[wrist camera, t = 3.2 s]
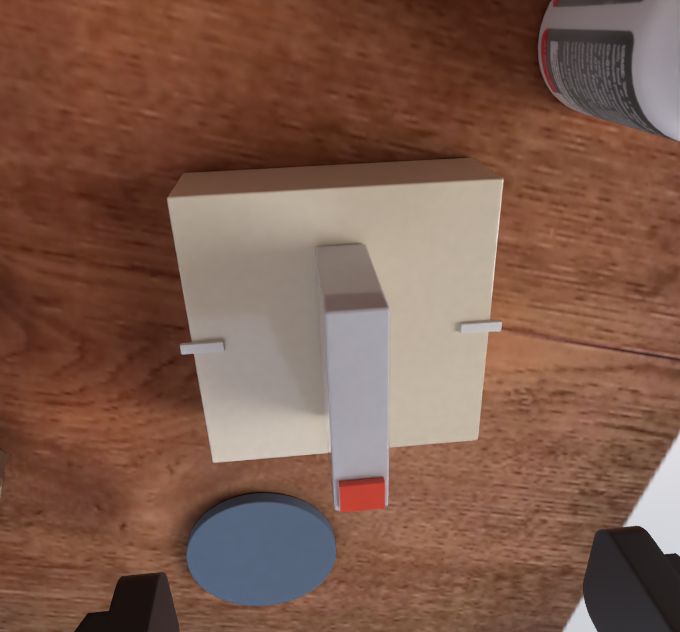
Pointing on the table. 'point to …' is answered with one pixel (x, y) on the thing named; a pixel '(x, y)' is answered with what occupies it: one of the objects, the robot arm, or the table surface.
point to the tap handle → (354, 375)
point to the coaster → (261, 549)
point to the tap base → (302, 303)
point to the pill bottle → (615, 60)
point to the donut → (3, 465)
